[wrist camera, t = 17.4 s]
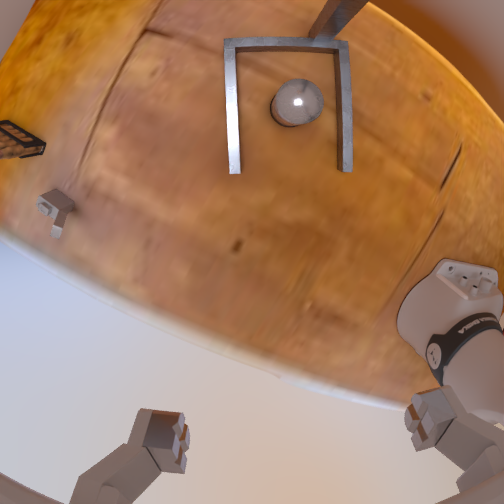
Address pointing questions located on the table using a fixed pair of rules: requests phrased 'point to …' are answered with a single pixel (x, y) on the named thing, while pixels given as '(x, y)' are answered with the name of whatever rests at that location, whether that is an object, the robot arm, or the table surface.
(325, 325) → the table surface
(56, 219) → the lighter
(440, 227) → the table surface
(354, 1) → the grey metal bar frame
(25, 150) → the ammunition clip
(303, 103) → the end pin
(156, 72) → the table surface
